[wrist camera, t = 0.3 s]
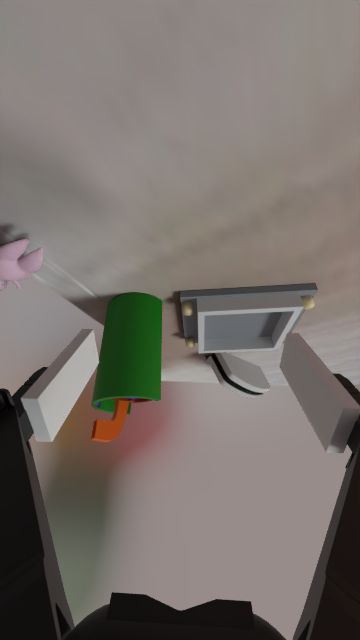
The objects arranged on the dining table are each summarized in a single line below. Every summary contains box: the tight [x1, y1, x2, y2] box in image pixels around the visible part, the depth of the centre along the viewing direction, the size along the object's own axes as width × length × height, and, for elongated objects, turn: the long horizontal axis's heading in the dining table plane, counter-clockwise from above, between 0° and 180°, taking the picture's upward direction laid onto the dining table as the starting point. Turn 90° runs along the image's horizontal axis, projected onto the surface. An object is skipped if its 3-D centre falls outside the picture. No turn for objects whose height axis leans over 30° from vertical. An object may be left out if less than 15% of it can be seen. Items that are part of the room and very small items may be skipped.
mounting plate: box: [180, 283, 318, 353], centre depth 41 cm, size 15×20×4 cm
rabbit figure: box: [0, 239, 43, 291], centre depth 29 cm, size 6×6×15 cm
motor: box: [91, 293, 162, 442], centre depth 35 cm, size 10×9×20 cm
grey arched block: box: [203, 352, 270, 398], centre depth 57 cm, size 17×5×10 cm, turn 49°
